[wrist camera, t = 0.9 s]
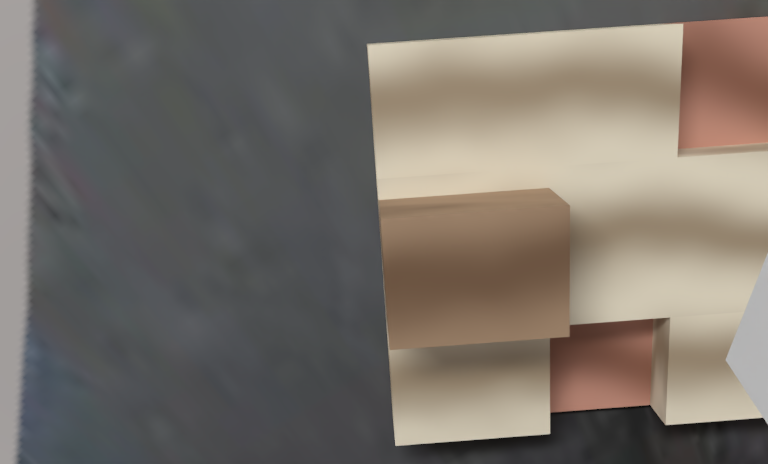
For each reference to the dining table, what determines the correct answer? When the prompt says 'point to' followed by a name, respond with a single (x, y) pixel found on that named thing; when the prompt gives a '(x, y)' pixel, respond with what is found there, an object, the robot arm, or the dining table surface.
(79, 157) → the dining table surface
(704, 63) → the platform
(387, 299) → the walnut block
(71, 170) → the dining table surface
